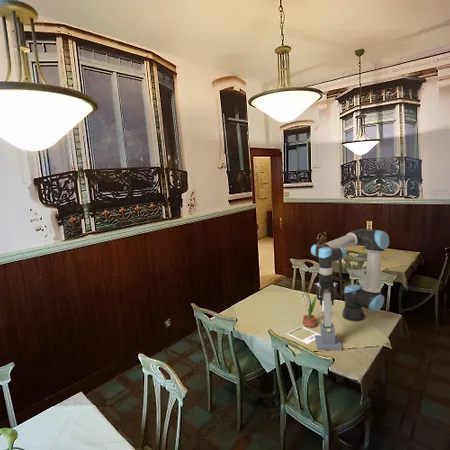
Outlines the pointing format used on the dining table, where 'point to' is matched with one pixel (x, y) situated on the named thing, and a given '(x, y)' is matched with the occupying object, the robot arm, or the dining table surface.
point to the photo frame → (308, 339)
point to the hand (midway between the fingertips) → (327, 310)
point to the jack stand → (328, 339)
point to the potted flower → (309, 319)
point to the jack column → (327, 309)
